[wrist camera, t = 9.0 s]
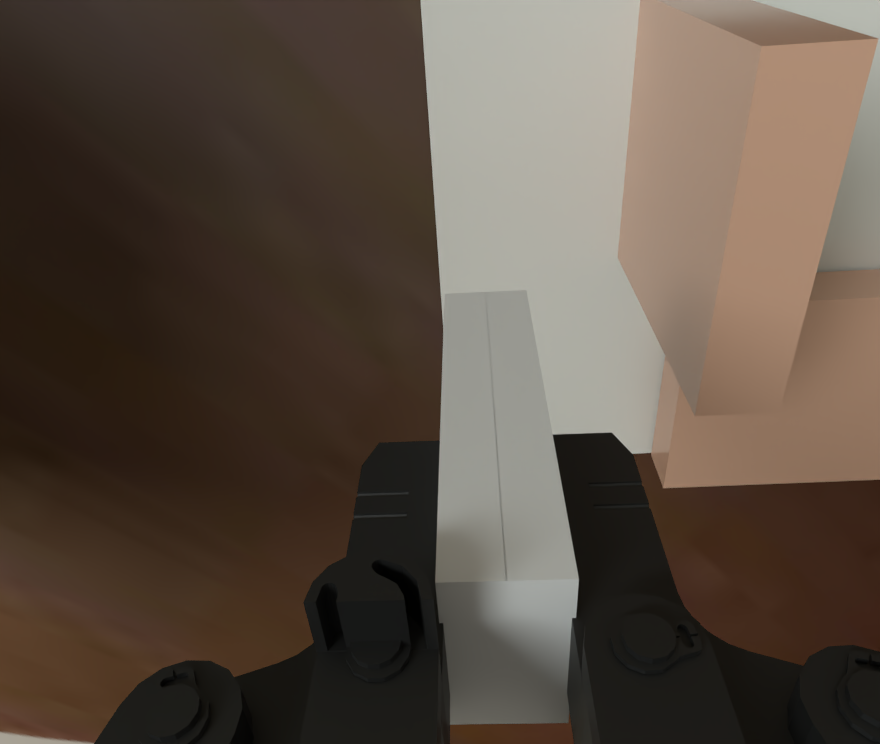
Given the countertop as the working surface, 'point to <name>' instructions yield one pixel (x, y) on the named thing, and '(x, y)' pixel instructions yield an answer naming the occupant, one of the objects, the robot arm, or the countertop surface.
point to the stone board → (581, 186)
